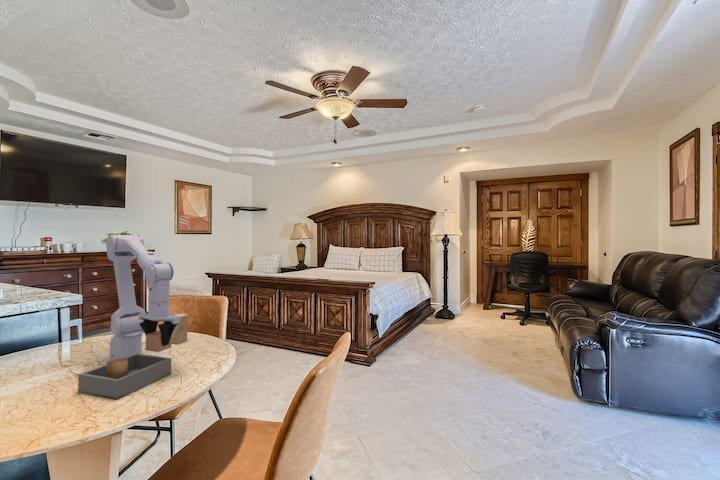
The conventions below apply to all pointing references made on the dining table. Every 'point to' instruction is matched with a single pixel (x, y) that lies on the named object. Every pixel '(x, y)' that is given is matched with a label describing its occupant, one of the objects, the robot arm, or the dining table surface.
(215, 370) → the dining table surface
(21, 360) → the dining table surface
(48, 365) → the dining table surface
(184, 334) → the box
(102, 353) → the dining table surface
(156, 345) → the cube
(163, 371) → the tote
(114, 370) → the walnut cylinder
